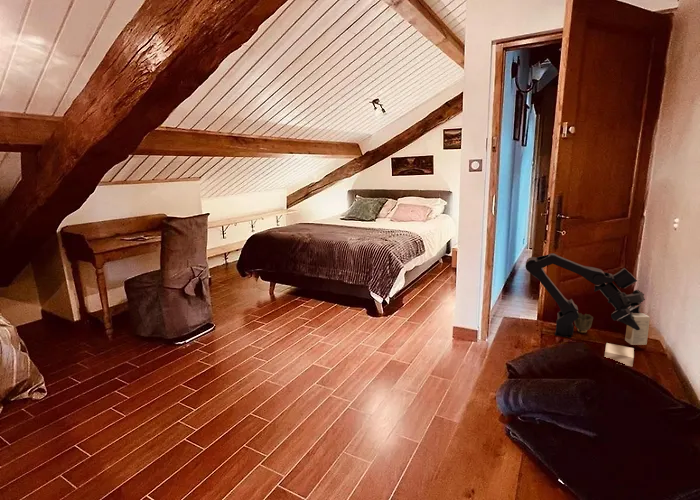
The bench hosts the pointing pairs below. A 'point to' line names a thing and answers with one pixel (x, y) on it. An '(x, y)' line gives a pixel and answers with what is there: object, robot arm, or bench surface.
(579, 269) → the robot arm
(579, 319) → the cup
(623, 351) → the birch block
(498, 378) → the bench surface
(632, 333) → the skincare box
